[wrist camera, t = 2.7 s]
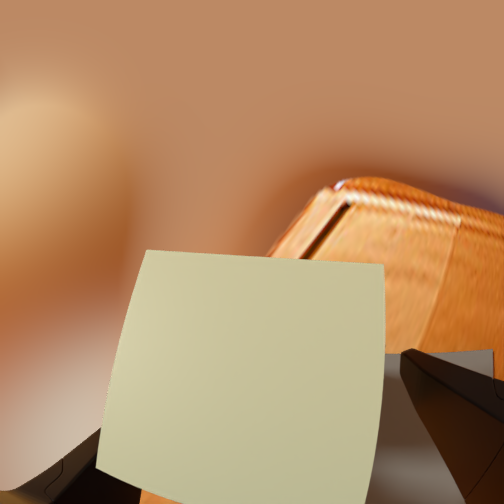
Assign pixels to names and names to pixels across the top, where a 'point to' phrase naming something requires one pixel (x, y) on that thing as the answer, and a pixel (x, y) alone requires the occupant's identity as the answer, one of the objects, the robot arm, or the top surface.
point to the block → (248, 380)
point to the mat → (413, 442)
